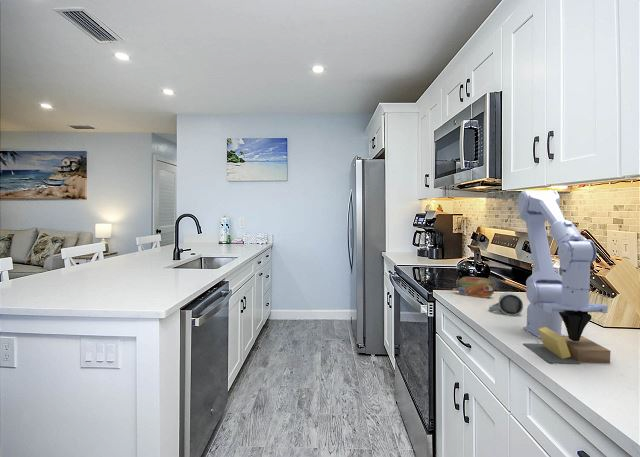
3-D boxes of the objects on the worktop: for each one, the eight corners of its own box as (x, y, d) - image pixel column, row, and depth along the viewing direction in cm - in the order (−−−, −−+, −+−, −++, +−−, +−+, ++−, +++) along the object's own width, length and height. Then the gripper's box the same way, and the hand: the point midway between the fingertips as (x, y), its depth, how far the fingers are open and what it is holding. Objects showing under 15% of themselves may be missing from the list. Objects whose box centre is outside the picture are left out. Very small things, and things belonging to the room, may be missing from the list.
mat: (522, 344, 95) (522, 343, 95) (550, 344, 94) (550, 343, 94) (548, 363, 83) (548, 362, 83) (580, 364, 82) (580, 362, 82)
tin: (456, 294, 152) (456, 275, 152) (458, 293, 155) (458, 274, 154) (494, 299, 144) (494, 279, 143) (495, 297, 146) (495, 278, 146)
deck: (552, 346, 93) (552, 335, 93) (581, 346, 93) (581, 335, 93) (577, 362, 83) (577, 350, 83) (610, 362, 83) (610, 350, 83)
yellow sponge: (551, 344, 92) (544, 346, 93) (545, 326, 92) (538, 329, 93) (570, 356, 84) (562, 359, 85) (564, 337, 84) (556, 340, 85)
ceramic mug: (520, 310, 127) (520, 290, 126) (523, 317, 119) (523, 295, 119) (488, 308, 131) (488, 288, 131) (489, 314, 124) (489, 293, 123)
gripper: (555, 290, 84) (554, 345, 85) (617, 291, 83) (616, 346, 84) (539, 284, 91) (537, 335, 92) (596, 285, 90) (594, 335, 91)
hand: (573, 339), depth 88 cm, fingers closed
